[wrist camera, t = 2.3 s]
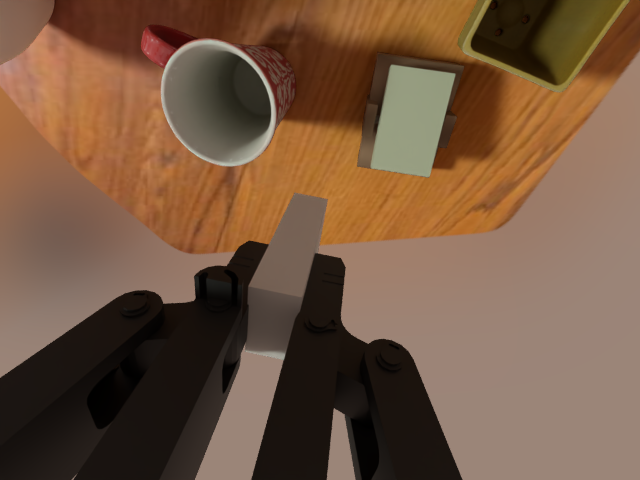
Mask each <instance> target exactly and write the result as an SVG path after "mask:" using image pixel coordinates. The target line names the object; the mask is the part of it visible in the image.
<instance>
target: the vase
mask: <svg viewBox="0 0 640 480" xmlns="http://www.w3.org/2000/svg"><path fill="white" fill-rule="evenodd" d="M54 3H55V1H54V0H0V65H1V64H3V63H5V62H7V61H9V60H11V59H13V58H15V57H16V56H18V55H19V54H21V53H22V52H23V51H25V50H26V49H27V48H28V47H29V46H30V44H31V43H32V42H33V41H34V40H35V39H36V37H37V36H38V35H39V33H40V32H41V31H42V29H43V28H44V26H45V25H46V24H47V22H48V21H49V19H50V17H51V15H52V13H53V10H54Z"/></svg>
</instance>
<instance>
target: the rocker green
mask: <svg viewBox="0 0 640 480" xmlns="http://www.w3.org/2000/svg"><path fill="white" fill-rule="evenodd" d="M454 78H455V74H454V73H447V72H440V71H433V70H426V69H419V68H411V67H404V66H397V65H391V66H390V68H389V71H388V76H387V81H386V87H385V92H384V97H383V102H382V108H381V113H380V118H379V123H378V129H377V134H376V139H375V144H374V150H373V155H372V160H371V165H370V167H371V168H372V169H379V170H385V171H392V172H398V173H404V174H411V175H417V176H424V177H430V173H431V169H432V165H433V161H434V157H435V153H436V149H437V145H438V141H439V137H440V133H441V129H442V125H443V122H444V118H445V114H446V110H447V106H448V102H449V98H450V94H451V90H452V86H453V82H454Z"/></svg>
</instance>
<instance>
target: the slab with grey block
mask: <svg viewBox="0 0 640 480" xmlns="http://www.w3.org/2000/svg"><path fill="white" fill-rule="evenodd" d="M391 65H397V66H404V67H411V68H419V69H426V70H433V71H440V72H447V73H454V74H455V78H454V82H453V86H452V90H451V94H450V98H449V102H448V106H447V110H446V114H445V118H444V122H443V125H442V129H441V133H440V137H439V141H438V145H437V149H436V153H435V157H436V154H437V150H438V147H440V148H447V145H448V142H449V139H450V136H451V133H452V130H453V127H454V124H455V121H456V118H457V116H456V115H455V114H454V113H453V112H452V111H451V107H452V104H453V101H454V97H455V94H456V91H457V88H458V85H459V82H460V79H461V76H462V72H463V69H464V66H463V65H460V64H457V63H451V62H444V61H437V60H429V59H422V58H415V57H408V56H401V55H394V54H387V53H379V52H377V57H376V63H375V68H374V74H373V79H372V85H371V90H370V95H368V96H367V102H366V107H365V113H364V118H363V125H362V139H361V144H360V150H359V155H358V164H357V167H364V168H370V169H372V168H371V167H370V165H371V160H372V155H373V150H374V144H375V139H376V134H377V129H378V123H379V118H380V113H381V108H382V102H383V97H384V92H385V87H386V81H387V76H388V71H389V68H390V66H391ZM435 157H434V160H435ZM433 163H434V161H433ZM432 166H433V165H432ZM377 170H379V169H377ZM383 171H385V170H383ZM390 172H392V171H390ZM396 173H398V172H396ZM403 174H404V173H403ZM409 175H411V174H409ZM415 176H417V175H415ZM422 177H424V176H422ZM428 178H429V177H428Z"/></svg>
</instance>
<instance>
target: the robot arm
mask: <svg viewBox="0 0 640 480" xmlns="http://www.w3.org/2000/svg"><path fill="white" fill-rule="evenodd" d="M327 201H328V199H324V198H319V197H313V196H308V195H303V194H298V193H294V195H293V197H292V199H291V201H290V203H289V205H288V207H287V209H286V211H285V213H284V215H283V217H282V220H281V222H280V224H279V226H278V228H277V230H276V232H275V234H274V236H273V238H272V240H271V242H270V244H264V243H259V242H254V241H248V242H246V243H244V244H243V245H241V246H239V248H238V249H237V251H236V252H235V254H234V256H233V257H232V259H231V260H230V262H229V264H228V265H227V266H212V267H207V268H205V269H203V270H200V271H199V272H198V273H197V274H196V275H195V276H194V279H195V295H196V299H195V300H194V301H192V302H187V303H171V304H163V301H162V299H161V297H160V296H159V295H158V294H156V293H155V292H151V291H147V290H143V291H133V292H129V293H125V294H123V295H121V296H119V297H117V298H116V299H114V300H113V301H111V302H110V303H108V304H107V305H105V306H104V307H103V308H101V309H100V310H98V311H97V312H95V313H94V314H93V315H91V316H90V317H88V318H86V319H85V320H84V321H82V322H81V323H79V324H78V325H76V326H75V327H74V328H72V329H71V330H69V331H68V332H66V333H65V334H63V335H62V336H60V337H59V338H57V339H56V340H55V341H53V342H52V343H50V344H49V345H47V346H46V347H45V348H43V349H41V350H40V351H39V352H37V353H36V354H34V355H33V356H31V357H30V358H28V359H27V360H26V361H24V362H23V363H21V364H20V365H18V366H17V367H15V368H14V369H12V370H11V371H10V372H8V373H7V374H5V375H4V376H2V377H1V378H0V480H72V478H73V477H74V476H75V475H76V474H77V473H78V474H77V475H76V477H75V478H74V480H195V478H196V475H197V473H198V470H199V467H200V465H201V462H202V460H203V458H204V455H205V452H206V450H207V447H208V445H209V442H210V440H211V437H212V435H213V432H214V430H215V427H216V425H217V422H218V420H219V417H220V415H221V412H222V410H223V407H224V404H225V402H226V399H227V397H228V394H229V392H230V389H231V387H232V384H233V382H234V379H235V377H236V374H237V372H238V369H239V366H240V358H241V352H242V350H243V347H244V345H245V342H246V345H245V352H249V353H254V354H259V355H264V356H268V357H273V358H277V359H282V360H284V361H283V365H282V369H281V373H280V376H279V380H278V383H277V387H276V391H275V394H274V398H273V402H272V406H271V409H270V413H269V416H268V420H267V424H266V428H265V431H264V435H263V439H262V442H261V446H260V450H259V453H258V457H257V461H256V464H255V468H254V472H253V476H252V480H327V470H328V460H329V450H330V439H331V430H332V420H333V409H334V408H335V409H336V410H338V411H340V412H342V413H343V414H345V420H346V426H347V431H348V438H349V443H350V449H351V454H352V461H353V467H354V472H355V478H356V480H462V478H461V475H460V473H459V470H458V468H457V466H456V463H455V460H454V458H453V456H452V453H451V451H450V448H449V446H448V444H447V441H446V438H445V436H444V433H443V431H442V429H441V426H440V424H439V421H438V419H437V416H436V414H435V412H434V409H433V407H432V404H431V402H430V399H429V397H428V394H427V392H426V389H425V387H424V384H423V382H422V379H421V377H420V374H419V372H418V370H417V367H416V365H415V362H414V360H413V358H412V357H411V355H410V353H409V352H408V351H407V350H406V349H405V348H404V347H403V346H402V345H400V344H398V343H396V342H394V341H392V340H386V339H378V340H374V341H372V342H371V343H369V344H367V343H365V342H363V341H361V340H359V339H357V338H356V337H354V336H353V335H351V334H350V333H349V332H348V331H347V330H346V329H345V327H344V326H343V324H342V321H341V306H342V296H343V285H344V277H345V268H346V267H345V265H344V263H343V262H342V259H341V258H337V257H332V256H327V255H322V254H318V250H319V244H320V239H321V233H322V228H323V222H324V217H325V212H326V206H327Z"/></svg>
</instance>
